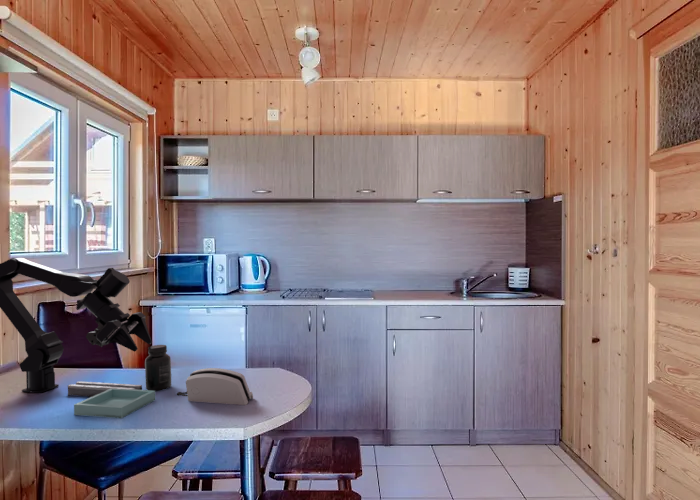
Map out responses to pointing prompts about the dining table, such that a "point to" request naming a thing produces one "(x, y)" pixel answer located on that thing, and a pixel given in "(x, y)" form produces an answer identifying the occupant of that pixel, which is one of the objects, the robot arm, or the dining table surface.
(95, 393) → the t-slot rail
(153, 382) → the supplement bottle
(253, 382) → the dining table surface
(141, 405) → the tray
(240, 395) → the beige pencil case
